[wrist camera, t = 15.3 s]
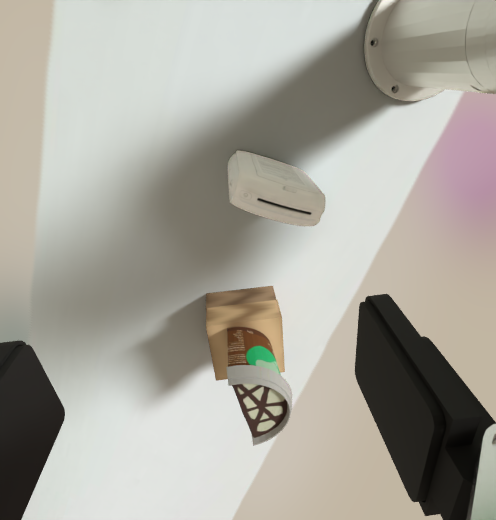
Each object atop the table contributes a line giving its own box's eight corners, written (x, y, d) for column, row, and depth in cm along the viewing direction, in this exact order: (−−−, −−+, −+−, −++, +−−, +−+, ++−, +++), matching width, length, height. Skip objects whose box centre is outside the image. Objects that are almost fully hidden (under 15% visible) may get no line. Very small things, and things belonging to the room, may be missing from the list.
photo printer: (222, 178, 44) (224, 213, 34) (232, 144, 42) (237, 170, 32) (297, 200, 47) (321, 240, 36) (309, 169, 45) (339, 201, 34)
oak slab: (277, 299, 50) (281, 317, 46) (280, 352, 54) (284, 371, 51) (206, 308, 49) (206, 326, 46) (215, 360, 54) (216, 380, 51)
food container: (287, 372, 51) (303, 436, 42) (247, 382, 51) (254, 448, 43) (270, 308, 45) (284, 367, 36) (223, 320, 45) (227, 382, 36)
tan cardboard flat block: (272, 284, 53) (276, 299, 50) (275, 335, 58) (279, 352, 54) (206, 292, 53) (205, 308, 49) (215, 342, 58) (215, 360, 54)
